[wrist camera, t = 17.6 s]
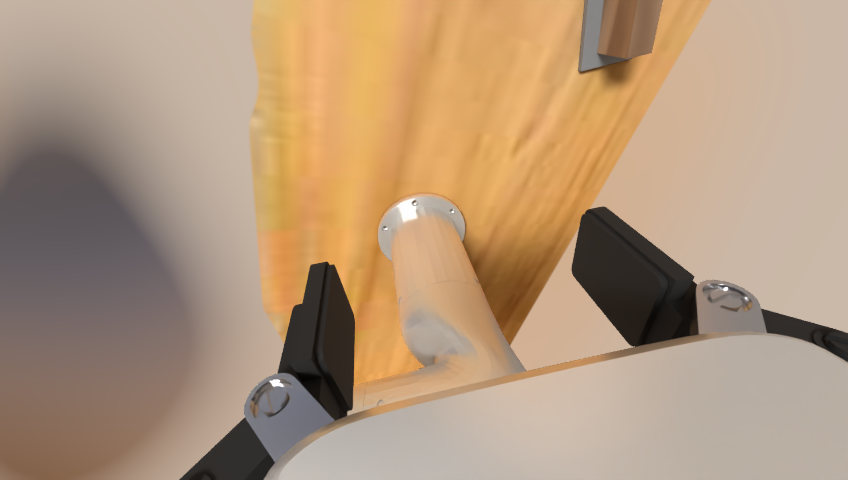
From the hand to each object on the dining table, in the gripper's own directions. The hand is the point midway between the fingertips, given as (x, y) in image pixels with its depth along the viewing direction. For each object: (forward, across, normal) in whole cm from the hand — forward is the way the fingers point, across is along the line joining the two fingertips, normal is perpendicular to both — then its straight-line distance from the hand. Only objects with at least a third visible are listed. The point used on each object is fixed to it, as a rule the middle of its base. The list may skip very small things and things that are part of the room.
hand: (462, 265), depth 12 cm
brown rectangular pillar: (+28, -24, -6) cm, 38 cm away
